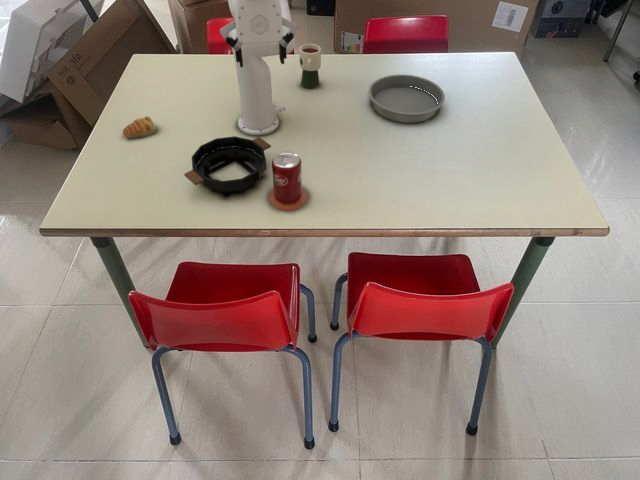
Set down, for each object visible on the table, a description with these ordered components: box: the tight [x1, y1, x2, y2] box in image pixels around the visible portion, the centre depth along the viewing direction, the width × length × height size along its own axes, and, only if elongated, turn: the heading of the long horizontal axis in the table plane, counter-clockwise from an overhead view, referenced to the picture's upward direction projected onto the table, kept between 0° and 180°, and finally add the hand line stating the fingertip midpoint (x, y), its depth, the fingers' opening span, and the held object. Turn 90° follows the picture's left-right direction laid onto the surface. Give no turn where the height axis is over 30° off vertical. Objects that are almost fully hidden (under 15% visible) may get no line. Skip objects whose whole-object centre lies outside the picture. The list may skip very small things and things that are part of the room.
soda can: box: [271, 151, 303, 204], centre depth 120 cm, size 7×7×12 cm
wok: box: [183, 135, 272, 198], centre depth 128 cm, size 24×19×6 cm
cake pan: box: [368, 74, 446, 124], centre depth 155 cm, size 25×25×4 cm
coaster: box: [268, 187, 308, 212], centre depth 125 cm, size 10×10×1 cm
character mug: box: [298, 43, 322, 89], centre depth 159 cm, size 11×7×13 cm, turn 176°
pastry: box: [122, 115, 157, 139], centre depth 142 cm, size 9×7×4 cm
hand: (261, 63), depth 112 cm, fingers open, 9 cm apart
